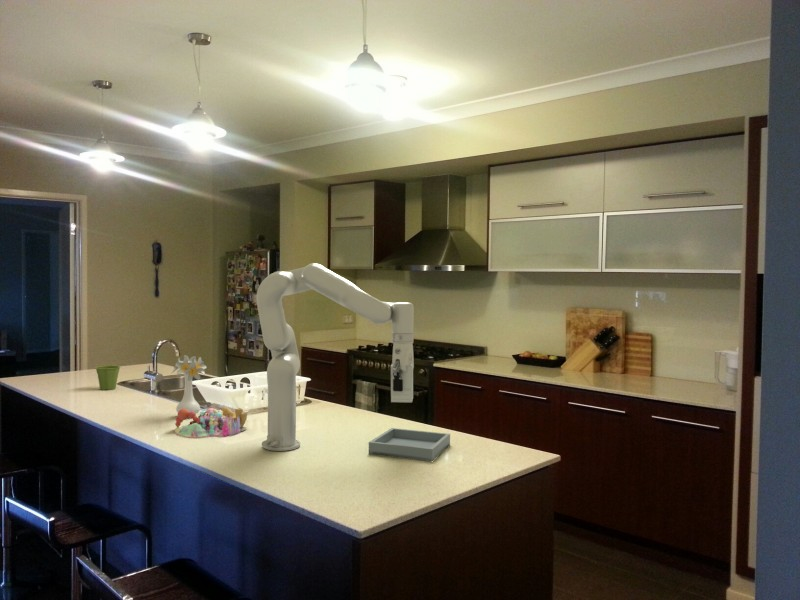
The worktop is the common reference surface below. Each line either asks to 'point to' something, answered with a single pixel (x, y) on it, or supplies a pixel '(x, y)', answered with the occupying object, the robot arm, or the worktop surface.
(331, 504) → the worktop surface
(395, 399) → the supplement box
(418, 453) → the tray
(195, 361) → the flower vase
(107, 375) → the plant pot
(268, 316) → the robot arm
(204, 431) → the candy landscape model
